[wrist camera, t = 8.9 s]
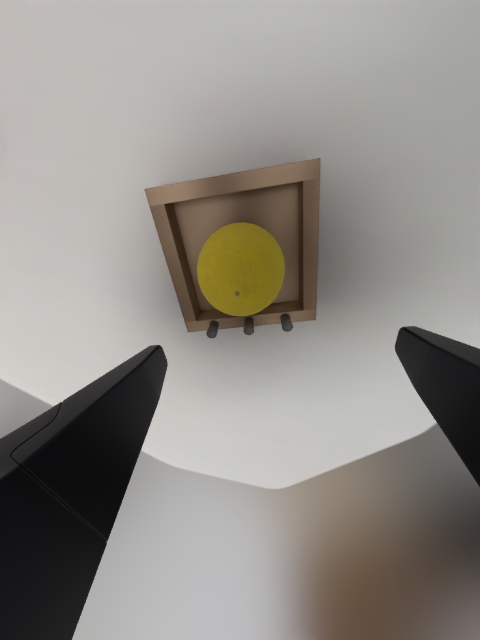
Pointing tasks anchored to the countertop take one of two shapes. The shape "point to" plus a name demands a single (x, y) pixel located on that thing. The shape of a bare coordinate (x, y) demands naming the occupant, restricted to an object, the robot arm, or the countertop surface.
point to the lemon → (240, 269)
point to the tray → (250, 207)
